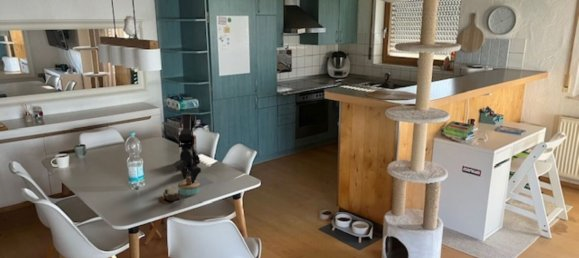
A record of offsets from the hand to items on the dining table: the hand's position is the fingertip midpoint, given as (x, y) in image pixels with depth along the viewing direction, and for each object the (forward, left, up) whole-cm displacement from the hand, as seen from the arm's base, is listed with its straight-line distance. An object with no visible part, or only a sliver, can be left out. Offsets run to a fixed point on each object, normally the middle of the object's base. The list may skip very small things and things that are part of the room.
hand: (188, 181), depth 245 cm
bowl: (0, 0, -7) cm, 7 cm away
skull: (+2, -13, -7) cm, 15 cm away
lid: (0, 0, -3) cm, 3 cm away
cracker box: (-43, +24, -7) cm, 50 cm away
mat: (-8, +12, -7) cm, 16 cm away
